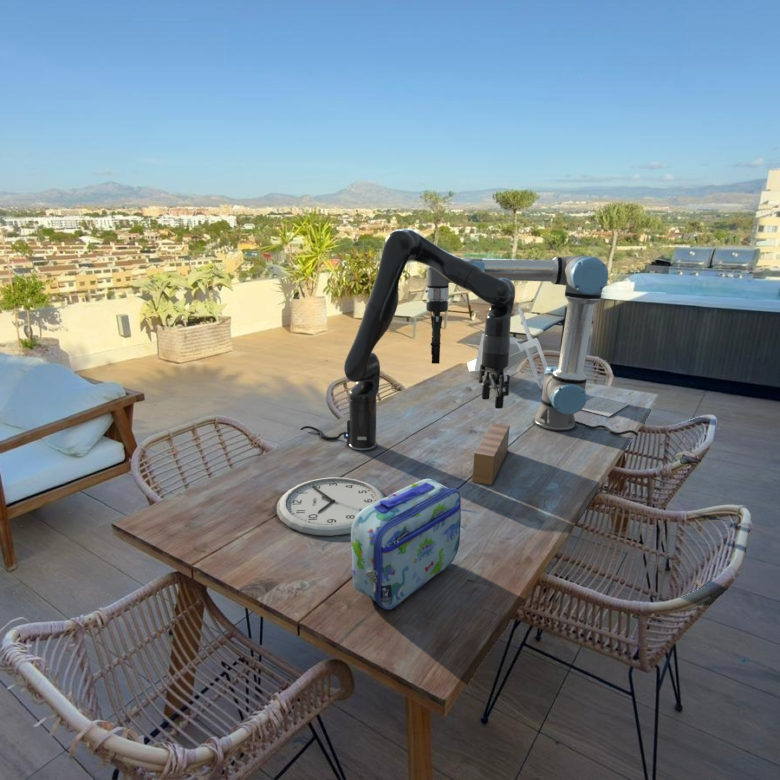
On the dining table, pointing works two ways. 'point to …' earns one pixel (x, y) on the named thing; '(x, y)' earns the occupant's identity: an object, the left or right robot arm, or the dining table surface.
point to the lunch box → (405, 541)
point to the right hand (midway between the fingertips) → (435, 358)
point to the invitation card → (603, 406)
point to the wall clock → (326, 505)
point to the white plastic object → (514, 353)
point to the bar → (490, 453)
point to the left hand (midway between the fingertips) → (492, 403)
